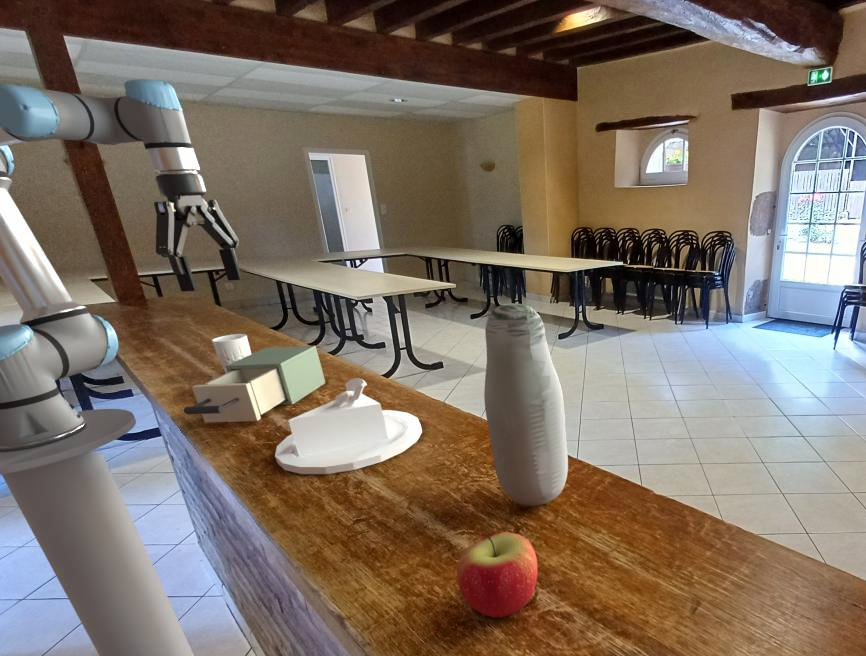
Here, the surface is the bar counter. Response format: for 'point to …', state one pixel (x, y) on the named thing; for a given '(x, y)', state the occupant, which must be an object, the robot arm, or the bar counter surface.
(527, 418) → the grey rounded column
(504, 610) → the apple
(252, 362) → the cabinet
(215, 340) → the white cup
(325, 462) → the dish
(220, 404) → the drawer
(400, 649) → the bar counter surface
